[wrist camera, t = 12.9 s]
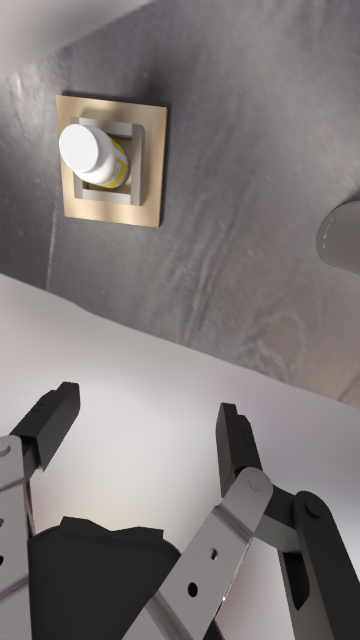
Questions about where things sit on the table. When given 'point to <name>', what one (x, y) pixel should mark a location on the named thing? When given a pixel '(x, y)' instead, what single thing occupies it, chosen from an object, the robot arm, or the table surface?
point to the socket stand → (141, 148)
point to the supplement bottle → (94, 156)
